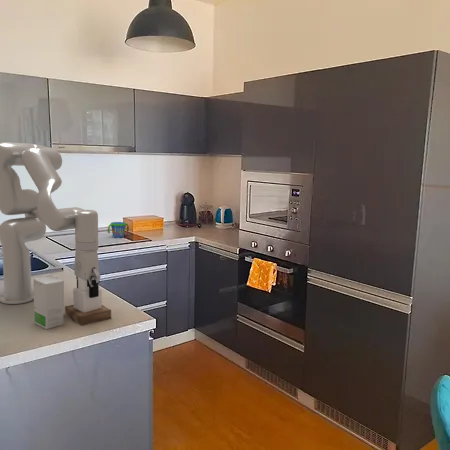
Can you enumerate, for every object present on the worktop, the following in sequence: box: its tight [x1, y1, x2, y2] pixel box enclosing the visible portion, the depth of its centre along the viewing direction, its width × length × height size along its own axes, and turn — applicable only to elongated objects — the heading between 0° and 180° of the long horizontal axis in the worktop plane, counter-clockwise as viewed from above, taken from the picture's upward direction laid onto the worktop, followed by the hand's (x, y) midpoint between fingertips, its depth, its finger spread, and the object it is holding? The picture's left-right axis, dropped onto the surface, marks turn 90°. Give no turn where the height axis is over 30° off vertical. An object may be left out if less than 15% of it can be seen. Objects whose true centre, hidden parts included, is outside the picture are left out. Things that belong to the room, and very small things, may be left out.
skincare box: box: [33, 274, 65, 330], centre depth 143 cm, size 8×7×16 cm
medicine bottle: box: [72, 277, 103, 313], centre depth 151 cm, size 7×7×12 cm
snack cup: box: [107, 221, 130, 239], centre depth 300 cm, size 16×10×10 cm
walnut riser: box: [64, 304, 112, 326], centre depth 152 cm, size 13×11×3 cm
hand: (87, 293), depth 151 cm, fingers open, 9 cm apart
